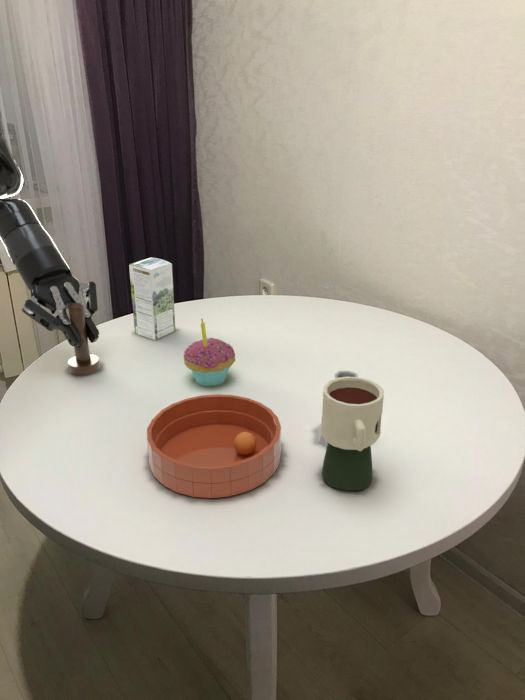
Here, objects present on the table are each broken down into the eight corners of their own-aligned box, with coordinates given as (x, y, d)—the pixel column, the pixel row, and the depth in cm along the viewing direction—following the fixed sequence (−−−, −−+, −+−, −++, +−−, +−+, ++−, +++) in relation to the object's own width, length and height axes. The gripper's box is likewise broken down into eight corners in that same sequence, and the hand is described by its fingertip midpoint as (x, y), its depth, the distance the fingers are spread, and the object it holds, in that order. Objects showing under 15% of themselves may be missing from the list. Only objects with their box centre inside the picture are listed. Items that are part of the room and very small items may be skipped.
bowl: (149, 509, 70) (145, 474, 67) (150, 429, 85) (147, 399, 83) (291, 493, 72) (292, 460, 70) (268, 419, 87) (268, 389, 85)
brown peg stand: (67, 378, 99) (56, 312, 94) (71, 365, 103) (61, 300, 98) (99, 376, 99) (90, 310, 94) (101, 362, 104) (93, 299, 99)
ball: (235, 460, 77) (234, 441, 76) (232, 447, 80) (232, 428, 79) (258, 458, 78) (258, 439, 76) (254, 445, 80) (254, 426, 79)
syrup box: (155, 325, 119) (149, 256, 113) (177, 332, 116) (172, 261, 110) (134, 334, 115) (127, 263, 109) (156, 342, 112) (150, 268, 106)
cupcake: (224, 396, 93) (221, 327, 88) (175, 388, 96) (170, 320, 91) (242, 372, 101) (241, 307, 95) (197, 365, 103) (194, 301, 98)
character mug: (385, 507, 70) (396, 413, 64) (325, 510, 69) (331, 416, 64) (364, 453, 80) (372, 367, 74) (312, 455, 79) (316, 369, 74)
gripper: (2, 254, 92) (56, 346, 90) (79, 236, 102) (130, 320, 100) (-8, 279, 98) (43, 367, 96) (66, 260, 107) (114, 340, 105)
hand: (87, 342), depth 98 cm, fingers closed on brown peg stand, 2 cm apart
